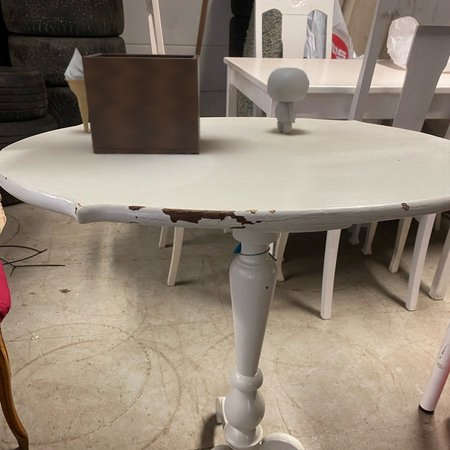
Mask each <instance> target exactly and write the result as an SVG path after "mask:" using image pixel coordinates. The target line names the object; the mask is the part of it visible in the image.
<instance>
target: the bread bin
mask: <svg viewBox="0 0 450 450" xmlns="http://www.w3.org/2000/svg"><path fill="white" fill-rule="evenodd" d="M82 65H83V73H84V81H85V89H86V97H87V105H88V122H89V129H90V138H91V144H92V146H91V147H92V152H93V154H117V155H119V153H120V154H122V155H123V154H127V155H128V154H131V155H132V154H133V155H134V154H135V155H136V154H137V155H139V154H140V155H179V154H178V153H196V154H195V155H199V154H200V147H201V87H200V85H201V84H200V83H201V80H200V79H201V78H200V76H201V75H200V56H199V55H195V54H169V53H168V54H164V53H163V54H160V53H94V54H90V55H85V56H82Z"/></svg>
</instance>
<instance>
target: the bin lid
mask: <svg viewBox="0 0 450 450" xmlns="http://www.w3.org/2000/svg"><path fill="white" fill-rule="evenodd" d="M209 3H210V0H202V2H201V7H200V8H201V9H200V15H199V16H200V17H199V23H198V30H197V38H196V45H195V52H194V55H199V57H200V56H201V55H202V52H203V45H204V37H205V33H206V26H207V25H206V24H207V18H208V12H209V6H210V5H209Z"/></svg>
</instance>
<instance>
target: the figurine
mask: <svg viewBox="0 0 450 450" xmlns="http://www.w3.org/2000/svg"><path fill="white" fill-rule="evenodd" d="M266 88H267V93H268V96H269V97H270V98H271V99H272V100H273V101H276V102H277V104H276V106H275V109H274V118H275V119H276V121H277V123H276V127H277V130H278V131H279V132H281V133H282V132H283V133H285V134H290V133H291V131H292V128H293V124H296V119H297V113H296V106H295V104H294V103H295V102H300V101H302V100H303V99H305V98H306V96H307V94H308V91H309V88H310V79H309V77H308V75H307V73H306V72H305V71H304V70H303V69H301V68H298V67H278V68H276V69H274V70H272V71H271V73H270V74H269V75H268V79H267V83H266Z"/></svg>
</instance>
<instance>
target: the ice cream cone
mask: <svg viewBox="0 0 450 450" xmlns="http://www.w3.org/2000/svg"><path fill="white" fill-rule="evenodd" d="M82 57H83V56H82V55H81V53H80V52H79V49H78V48H77V47H75V49H74V52H73V56H72V58H71V60H70V62H69V64H68V66H67V68H66V70H65V72H64V74H63V75H64V76H65V77H64V78H65V81H67V83H68V86H69V89H70V91H72V92H73V93H74V95H75V96H76V98H77V103H78V107H79V112H80V116H81V120H82V121H81V122H82V124H83V129H84V132H85V133H89V129H90V126H89V113H88V105H87V97H86V89H85V81H84V73H83V65H82Z"/></svg>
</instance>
